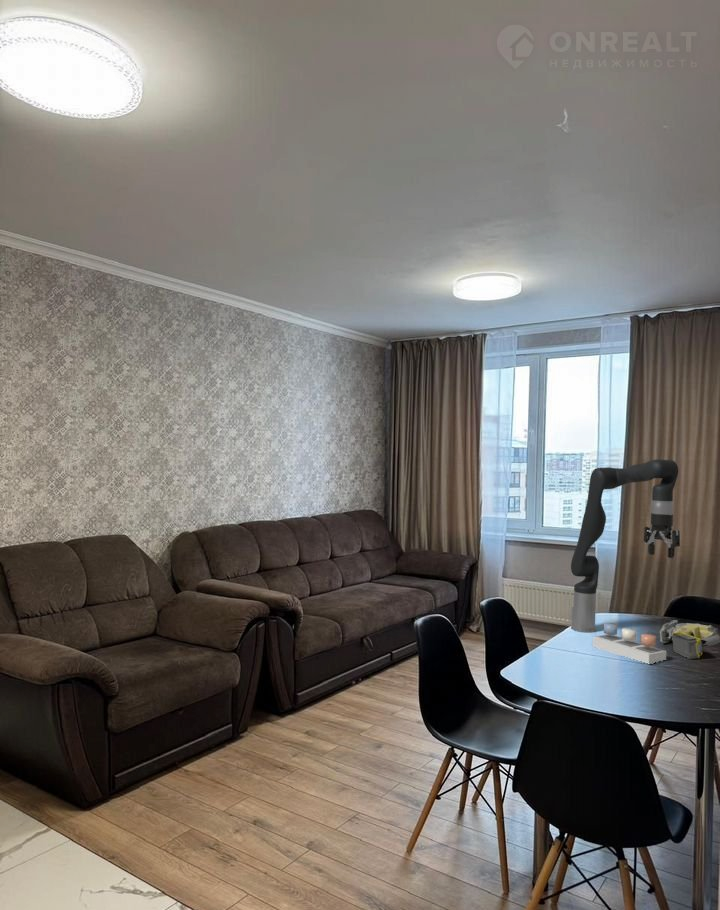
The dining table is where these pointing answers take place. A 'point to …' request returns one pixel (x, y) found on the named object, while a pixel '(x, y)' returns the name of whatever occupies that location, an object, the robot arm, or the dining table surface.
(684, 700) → the dining table surface
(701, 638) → the circular saw
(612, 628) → the slate button
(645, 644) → the terracotta button
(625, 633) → the cream button
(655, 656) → the console
